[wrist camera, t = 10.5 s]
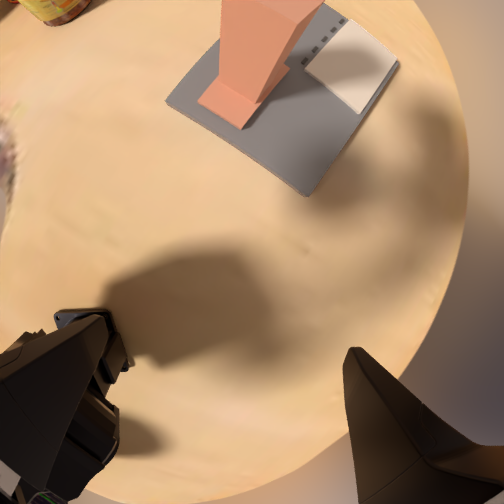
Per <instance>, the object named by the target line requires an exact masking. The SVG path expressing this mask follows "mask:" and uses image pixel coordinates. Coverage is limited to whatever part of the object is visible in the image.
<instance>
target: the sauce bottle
mask: <svg viewBox="0 0 504 504" xmlns="http://www.w3.org/2000/svg"><path fill="white" fill-rule="evenodd" d="M18 1H19V2H20V3H21V4H22V5H23V6H24V7H25V8H26V9H27V10H29V11H30V12H31V13H32V14H33V15H34V16H35V17H36V18H37V19H39V20H40V21H43V22H44V23H45V24H46V25H48V26H58V25H61V24H64V23H66V22H68V21H70V20H71V19H73V18H74V17H75V16H77V15H78V14H79V13H80V12H81V11H82V10H84V9H85V8H86V6H87V5H88V4H89V3H90V1H91V0H18Z"/></svg>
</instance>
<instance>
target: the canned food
mask: <svg viewBox="0 0 504 504" xmlns="http://www.w3.org/2000/svg"><path fill="white" fill-rule="evenodd" d="M7 1H8V2H10V3H19V1H18V0H7Z"/></svg>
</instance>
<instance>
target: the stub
mask: <svg viewBox="0 0 504 504" xmlns="http://www.w3.org/2000/svg"><path fill="white" fill-rule="evenodd" d="M324 1H325V0H222V8H221V28H220V53H219V75H218V77H217V78H216V79H215V80H214V81H213V82H212V84H211V85H210V86H209V87H208V88H207V89H206V91H205V92H204V93H203V94H202V96H201V97H200V98H199V99H198V104H200V105H202V106H203V107H205V108H207V109H208V110H210V111H211V112H213V113H215V114H216V115H218V116H219V117H221V118H223V119H224V120H226V121H227V122H229V123H230V124H232V125H233V126H235V127H236V128H238V129H239V130H241V129H242V128H243V126H244V125H245V124H246V122H247V121H248V120H249V119H250V117H251V116H252V115H253V113H254V112H255V111H256V110H257V108H258V107H259V106H260V105H261V103H262V102H263V101H264V100H265V98H266V97H267V96H268V95H269V94H270V92H271V91H272V90H273V89H274V88H275V86H276V85H277V84H278V83H279V82H280V80H281V79H282V78H283V77H284V76H285V75H286V73H287V72H288V71H289V70H290V68H289V67H288V66H286V65H285V64H284V62H285V60H286V59H287V57H288V56H289V54H290V52H291V51H292V49H293V48H294V46H295V44H296V43H297V41H298V40H299V38H300V37H301V35H302V34H303V32H304V30H305V29H306V27H307V26H308V24H309V23H310V21H311V20H312V18H313V17H314V15H315V14H316V13H317V11H318V10H319V8H320V7H321V5H322V4H323V2H324Z"/></svg>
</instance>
